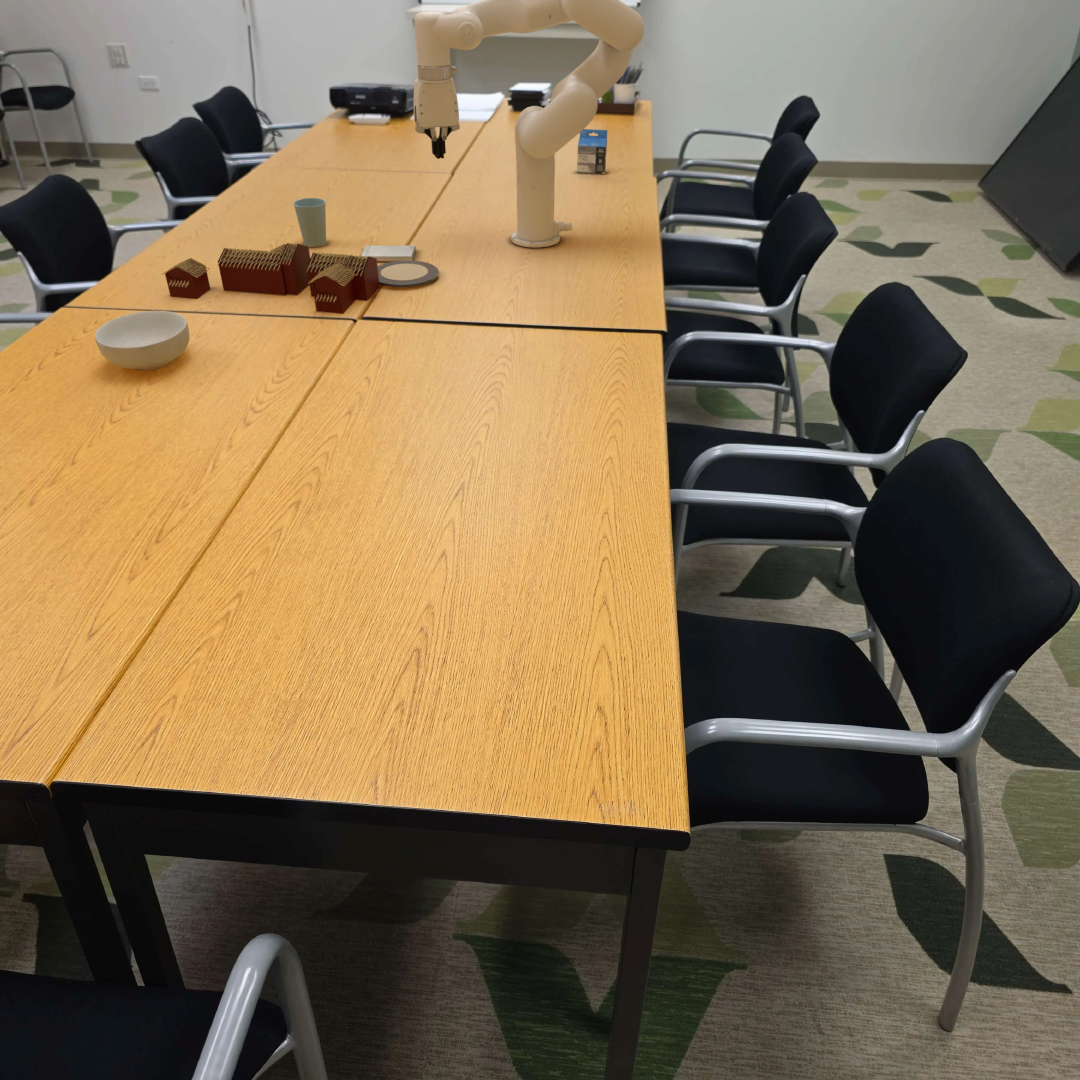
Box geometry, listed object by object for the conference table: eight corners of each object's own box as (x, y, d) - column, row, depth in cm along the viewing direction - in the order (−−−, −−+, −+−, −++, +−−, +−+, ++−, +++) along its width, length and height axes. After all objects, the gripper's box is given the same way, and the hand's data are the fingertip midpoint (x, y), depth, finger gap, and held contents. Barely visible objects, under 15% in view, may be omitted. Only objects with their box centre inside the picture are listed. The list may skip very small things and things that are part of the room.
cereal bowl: (118, 344, 184) (109, 311, 179) (203, 342, 185) (195, 308, 181) (92, 383, 170) (81, 347, 166) (184, 379, 171) (175, 344, 167)
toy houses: (383, 283, 211) (379, 239, 205) (351, 317, 195) (346, 271, 189) (204, 269, 218) (194, 226, 212) (158, 301, 202) (147, 255, 196)
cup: (334, 246, 232) (328, 204, 226) (303, 250, 229) (297, 208, 223) (326, 237, 238) (321, 196, 231) (297, 241, 235) (290, 200, 229)
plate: (429, 262, 223) (429, 256, 222) (446, 285, 211) (446, 279, 210) (364, 270, 218) (363, 264, 217) (378, 293, 206) (377, 287, 205)
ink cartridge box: (576, 173, 289) (577, 131, 281) (578, 170, 292) (579, 128, 285) (604, 174, 288) (606, 132, 280) (605, 171, 291) (607, 129, 283)
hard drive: (415, 244, 229) (365, 244, 228) (411, 255, 222) (360, 255, 222) (416, 251, 229) (366, 250, 229) (412, 262, 223) (361, 262, 223)
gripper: (461, 68, 215) (464, 151, 226) (398, 72, 211) (405, 156, 222) (470, 74, 210) (473, 158, 221) (406, 78, 206) (412, 163, 216)
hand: (439, 157), depth 221 cm, fingers closed
